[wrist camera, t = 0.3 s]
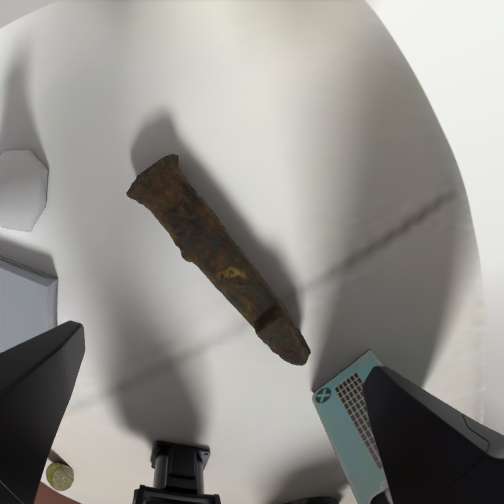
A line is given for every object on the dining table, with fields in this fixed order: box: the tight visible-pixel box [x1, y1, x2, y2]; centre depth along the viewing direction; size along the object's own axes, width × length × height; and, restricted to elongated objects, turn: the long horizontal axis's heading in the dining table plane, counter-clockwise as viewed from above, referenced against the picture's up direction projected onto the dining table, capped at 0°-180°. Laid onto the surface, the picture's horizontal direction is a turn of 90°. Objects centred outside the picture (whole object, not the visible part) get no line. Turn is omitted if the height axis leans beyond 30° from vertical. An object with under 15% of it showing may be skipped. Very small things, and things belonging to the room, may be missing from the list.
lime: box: [46, 463, 74, 491], centre depth 25 cm, size 4×5×5 cm
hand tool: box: [126, 154, 311, 366], centre depth 21 cm, size 19×4×5 cm, turn 34°
